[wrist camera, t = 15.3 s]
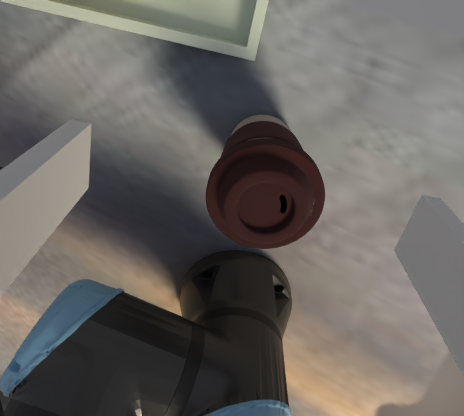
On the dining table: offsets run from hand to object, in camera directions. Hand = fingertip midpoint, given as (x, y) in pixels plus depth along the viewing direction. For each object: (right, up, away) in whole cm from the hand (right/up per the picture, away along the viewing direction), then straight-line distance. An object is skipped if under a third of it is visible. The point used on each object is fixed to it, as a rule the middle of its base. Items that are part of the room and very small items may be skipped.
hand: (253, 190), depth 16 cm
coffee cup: (+2, +7, +29) cm, 30 cm away
